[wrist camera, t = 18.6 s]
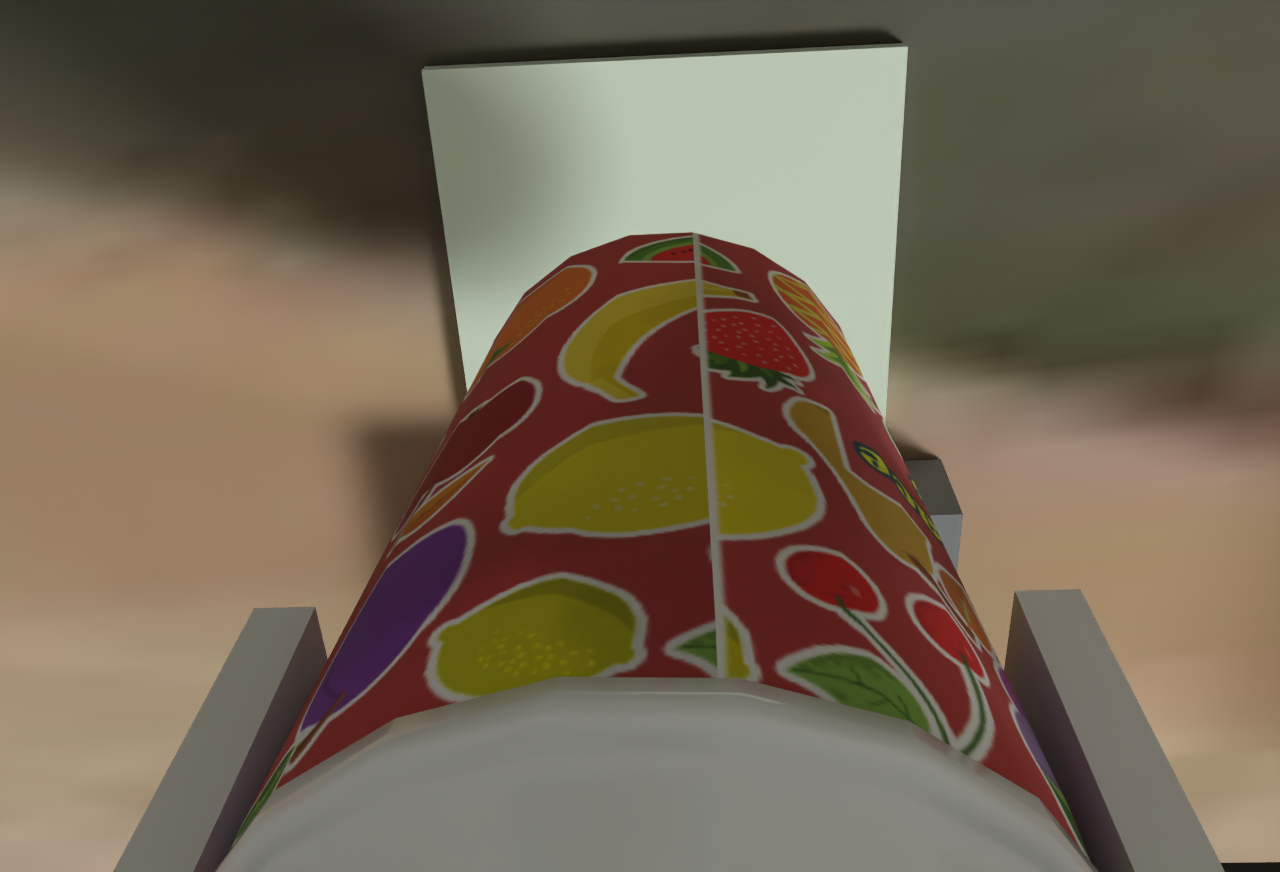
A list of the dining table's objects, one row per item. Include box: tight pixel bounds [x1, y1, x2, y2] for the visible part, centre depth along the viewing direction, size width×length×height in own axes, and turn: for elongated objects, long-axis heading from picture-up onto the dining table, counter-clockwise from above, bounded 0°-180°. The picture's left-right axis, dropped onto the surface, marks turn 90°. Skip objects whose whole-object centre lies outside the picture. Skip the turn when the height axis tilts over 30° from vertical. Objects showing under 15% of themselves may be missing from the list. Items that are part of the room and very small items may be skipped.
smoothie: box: [214, 232, 1099, 872], centre depth 13 cm, size 8×8×20 cm
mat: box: [421, 43, 908, 421], centre depth 26 cm, size 10×10×1 cm
